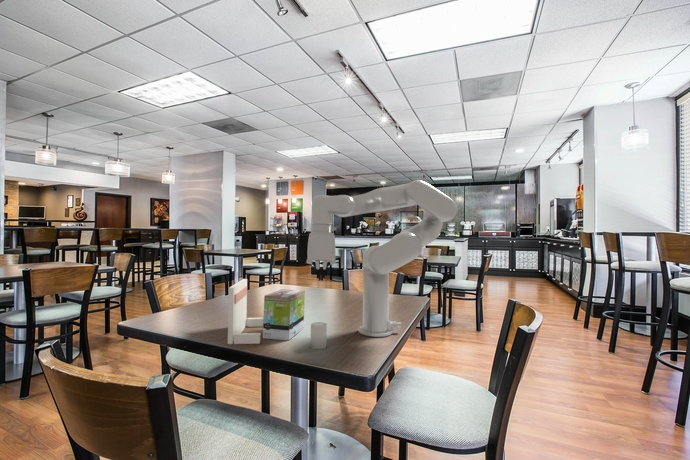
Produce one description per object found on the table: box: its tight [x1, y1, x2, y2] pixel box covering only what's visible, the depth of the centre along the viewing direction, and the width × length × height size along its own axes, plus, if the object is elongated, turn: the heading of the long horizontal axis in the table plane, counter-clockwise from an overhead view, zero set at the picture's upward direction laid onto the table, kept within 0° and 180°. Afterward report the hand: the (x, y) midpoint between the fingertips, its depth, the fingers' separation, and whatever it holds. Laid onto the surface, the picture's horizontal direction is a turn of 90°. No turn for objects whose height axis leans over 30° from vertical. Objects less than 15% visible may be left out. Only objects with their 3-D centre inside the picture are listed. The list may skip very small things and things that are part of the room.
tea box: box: [262, 288, 306, 341], centre depth 116 cm, size 15×10×15 cm, turn 168°
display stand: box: [227, 278, 263, 345], centre depth 115 cm, size 10×21×18 cm, turn 5°
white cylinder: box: [310, 321, 328, 350], centre depth 103 cm, size 5×5×7 cm
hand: (320, 280), depth 117 cm, fingers closed
